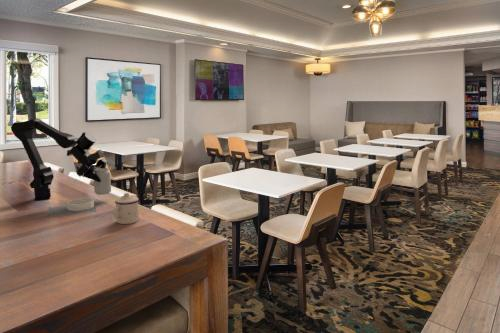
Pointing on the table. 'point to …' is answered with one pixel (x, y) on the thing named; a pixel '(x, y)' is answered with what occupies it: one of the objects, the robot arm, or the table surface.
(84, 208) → the bowl
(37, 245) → the table surface
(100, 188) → the can
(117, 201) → the teacup with lid
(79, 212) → the placemat
